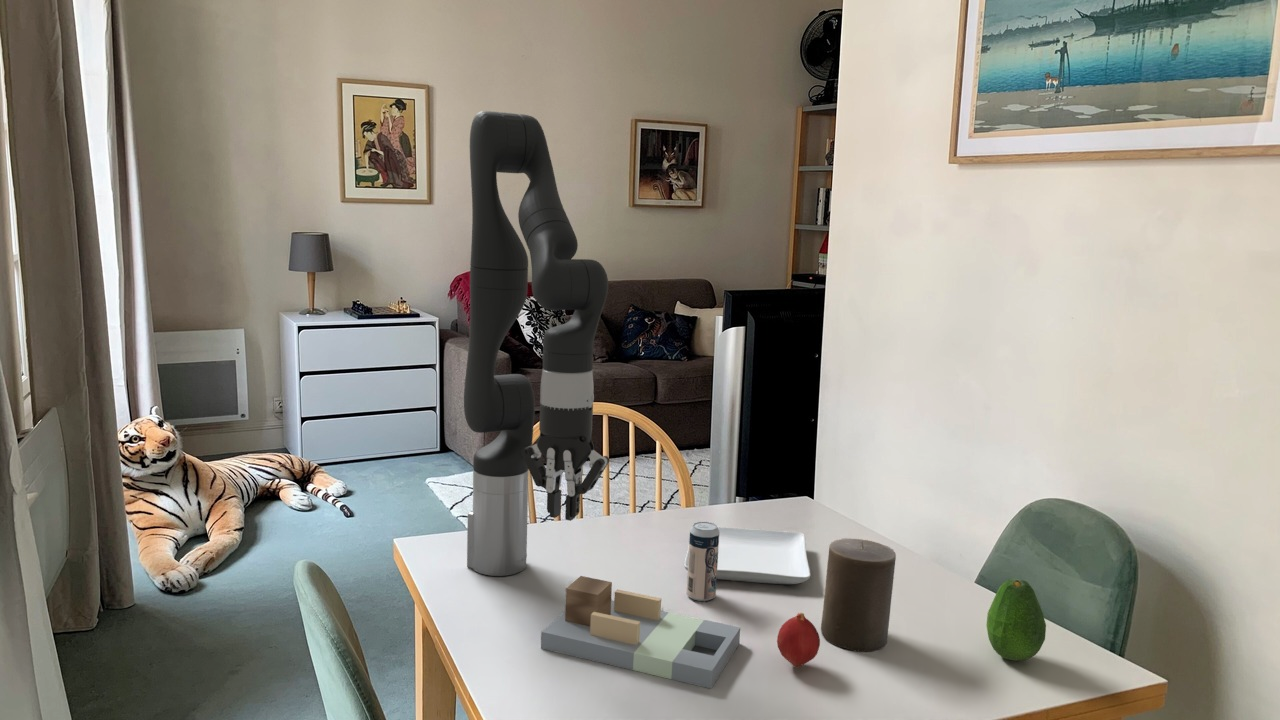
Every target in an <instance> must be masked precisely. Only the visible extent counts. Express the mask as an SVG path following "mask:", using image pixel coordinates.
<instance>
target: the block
mask: <svg viewBox="0 0 1280 720" xmlns="http://www.w3.org/2000/svg"><path fill="white" fill-rule="evenodd" d="M612 584H613V582H612V581H609V580H603V579H598V578H594V577H588V576H583V575H580V576H579V577H578V578H577V579H575V580H574V581H572V583H570V584H569V585H568V586H567V587H566V588H565V606H564V608H565V610H564V611H565V621H567V622H572V623H576V624H581V625H585V626H590V625H591V614H592V613H593V612H598V613H602V614H607V615H610V614H611V600H612V586H613V585H612Z"/></svg>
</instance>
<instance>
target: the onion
mask: <svg viewBox="0 0 1280 720" xmlns="http://www.w3.org/2000/svg"><path fill="white" fill-rule="evenodd" d="M776 638H777V639H776V642H777V644H776V645H777V649H778V650H779V652H780V655H781V656H782V657H783V658H784V659H785V660H786V661H788V662H789V663H790V664H791V666H793V667H794V668H801V667H802V666H803V665H806V664H808V663H809V662H810V661H812V660H814V658H815V657H816V656H817V654H818V653H819V649H820V645H821V641H820V640H821V639H820V634H819V632H818V630H817V628H816V627H815V625H814V624H813V622H811V621H810V620H809V619H808V618H806V615H805V613H803V612H798V613H797V614H796V615H795V616H793V617H791V618H789V619H788V620H786V621H785V622H784V623H783V624H782V625H781V627H780V628H779V630H778V633H777V637H776Z"/></svg>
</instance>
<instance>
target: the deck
mask: <svg viewBox="0 0 1280 720" xmlns="http://www.w3.org/2000/svg"><path fill="white" fill-rule="evenodd" d="M740 638H741V627H740V626H736V625H733V624H732V625H731V624H727V623H723V622H722V623H721V622H717V621H712V620H708V619H703V618H697V617H692V616H689V615H684V614H680V613H674V612H668V611H664V610H662V598H661V597H657V596H652V595H648V594H647V595H646V594H641V593H636V592H632V591H627V590H622V589H616V590H615V591H614V600H612V599H611V614H610V615H607V614H602V613H598V612H593V613H592V614H591V625H590V626H585V625H581V624H576V623H572V622H567V621H565V610H564V611H563V612H562V613H561V614H559V616H557V617H556V618H554V620H553V621H551V622H550V623H549V624H548V625H547V626H546V627H545V628H543V630H541V632H540V649H542V650H546V651H550V652H555V653H559V654H563V655H568V656H571V657H577V658H580V659H584V660H589V661H593V662H597V663H600V664H601V663H602V664H605V665H610V666H614V667H618V668H623V669H626V670H631V671H635V672H638V673H643V674H648V675H653V676H656V677H660V678H664V679H669V680H673V681H678V682H681V683H685V684H690V685H693V686H694V685H695V686H698V687H702V688H707V689H712V688H713V686H714V685H715V683H716V681H717V680H718V679H719V677H720V675H721V673H722V672H723V670H724V669H725V667H726V665H727V664H728V662H729V661H730V660H731V658H732V656H733V654H734V653H735V651H736V649H737V648H738V646H739V645H740V640H741V639H740Z"/></svg>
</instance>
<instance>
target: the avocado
mask: <svg viewBox="0 0 1280 720" xmlns="http://www.w3.org/2000/svg"><path fill="white" fill-rule="evenodd" d="M1041 607H1042V606H1041V605H1040V603H1039V600H1038V597H1037V594H1036V593H1035V590H1034V589H1033V588H1032V586H1031V585H1030V583H1029V582H1028V581H1026V580H1022V579H1019V578H1015V577H1014V578H1010V579H1008V580H1006V581H1004V582H1003V583H1002V584H1001V585H1000V586H999V588H998V589H997V591H996V593H995V596H994V598H993V601H992V602H991V605H990V606H989V609H988V611H987V616H986V617H987V619H986V630H987V631H986V632H987V636H988V637H987V638H988V641H989V642H990V645H991V647H992V649H993V650H994V651H995V653H997V655H999V656H1000V657H1002V658H1003V659H1005V660H1010V661H1016V662H1020V661H1026V660H1029V659H1031V658H1034V656H1035V655H1036V654H1038V652H1040V650H1041V648H1042V647H1043V645H1044V642H1045V641H1046V632H1047V624H1046V619H1045V618H1044V617H1045V616H1044V613H1043V610H1042V608H1041Z"/></svg>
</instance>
